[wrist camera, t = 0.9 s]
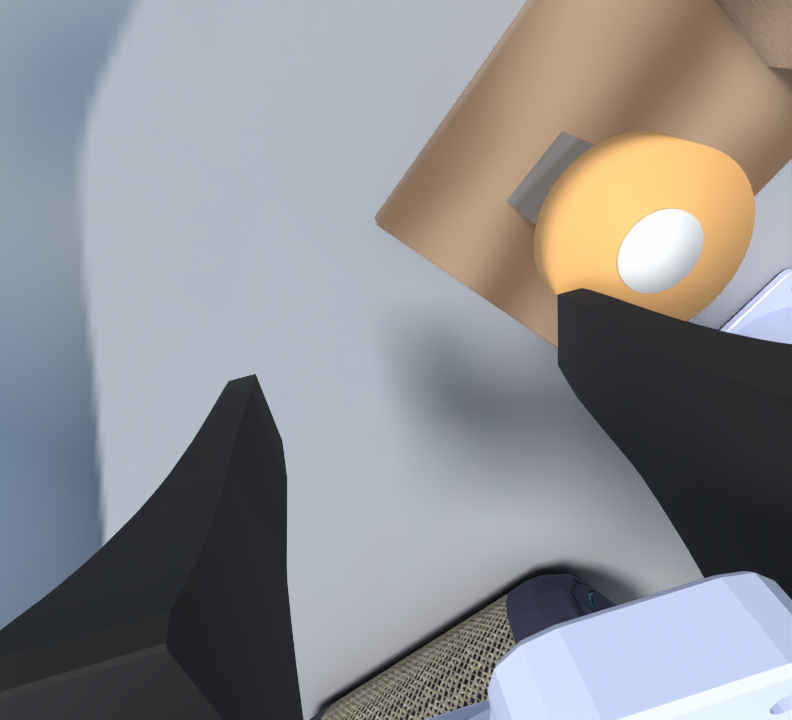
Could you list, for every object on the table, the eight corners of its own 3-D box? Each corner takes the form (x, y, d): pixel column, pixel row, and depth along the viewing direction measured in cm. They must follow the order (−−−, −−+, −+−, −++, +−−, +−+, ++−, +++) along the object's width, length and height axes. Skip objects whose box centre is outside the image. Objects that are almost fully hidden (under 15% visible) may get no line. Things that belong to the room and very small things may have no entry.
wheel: (695, 185, 19) (797, 226, 15) (581, 308, 21) (646, 372, 17) (592, 79, 17) (681, 95, 13) (475, 228, 19) (521, 281, 15)
